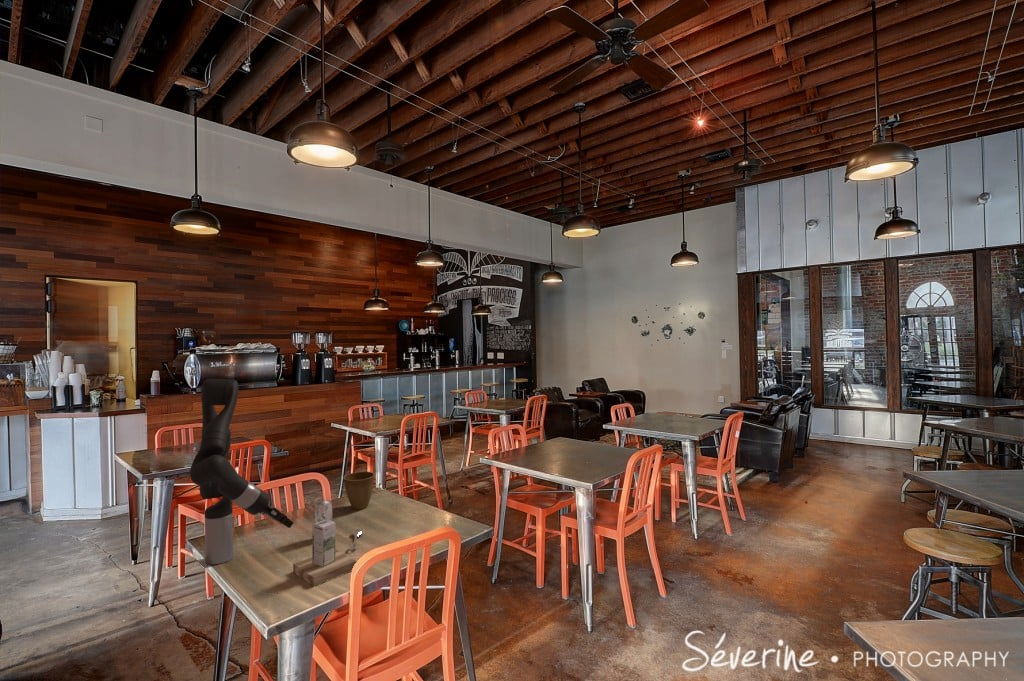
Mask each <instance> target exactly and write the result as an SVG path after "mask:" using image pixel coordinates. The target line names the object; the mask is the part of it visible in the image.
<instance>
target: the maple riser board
mask: <svg viewBox="0 0 1024 681" xmlns="http://www.w3.org/2000/svg"><path fill="white" fill-rule="evenodd" d="M356 562H358V561H357V560H356V559H353V558H352V557H350V556H348V555H346V554H345V553H343V552H341V551H339V550H337V549H335V561H334V562H332V563H330V564H328V565H326V566H324V567H322V566H318V565H315V564H312V556H311V557H307V558H305V559H302V560H300V561H297V562H294V563H292V570H293V571H292V572H293V573H294V574H295V575H297V576H298V577H300V578H301V579H303V580H304V581H305V582H307V583H309V584H310V585H312V586H313V587H314V586H315V587H316V585H317V586H319V585H318V584H320V585H321V583H322V584H324V583H326V582H325V581H327V580H329V581H331V580H330V579H332V578H334V579H336V578H335V577H337V576H339V577H341V576H340V575H342V574H344V575H346V574H345V573H347V574H349V573H352V572H351V570H352V568H353V566H354V564H355V563H356ZM342 576H343V575H342ZM337 578H338V577H337ZM332 580H333V579H332ZM323 582H324V583H323ZM327 582H328V581H327Z"/></svg>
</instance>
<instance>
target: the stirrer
mask: <svg viewBox="0 0 1024 681" xmlns="http://www.w3.org/2000/svg"><path fill="white" fill-rule="evenodd" d="M363 533H364V530H363V529H355V530H353V531H352V532H351V534H352V535H354V541H353V543H352V545H351V546H350V547H348V548H347V550H355V549H357V539H358V537H359V536H360V535H361V534H363Z"/></svg>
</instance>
